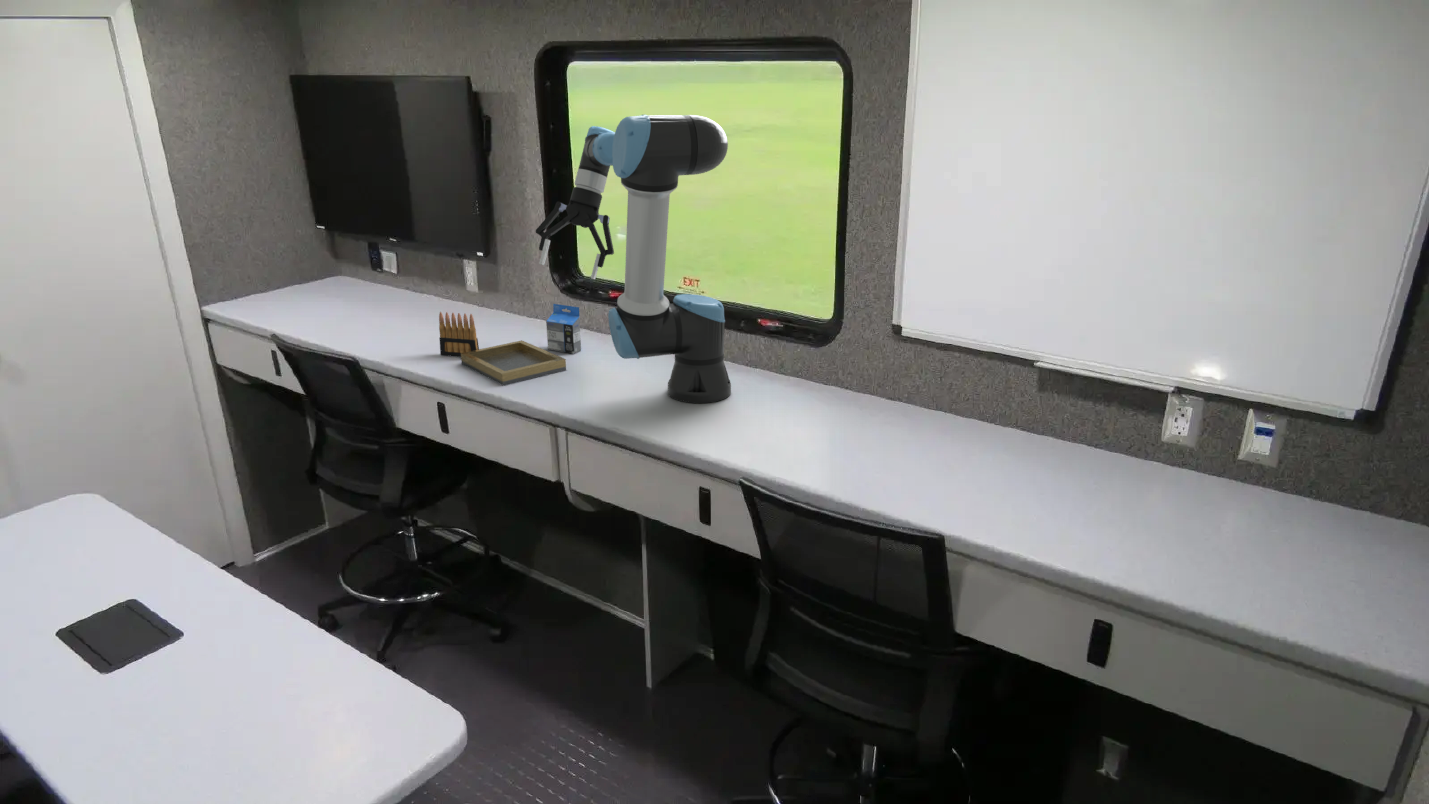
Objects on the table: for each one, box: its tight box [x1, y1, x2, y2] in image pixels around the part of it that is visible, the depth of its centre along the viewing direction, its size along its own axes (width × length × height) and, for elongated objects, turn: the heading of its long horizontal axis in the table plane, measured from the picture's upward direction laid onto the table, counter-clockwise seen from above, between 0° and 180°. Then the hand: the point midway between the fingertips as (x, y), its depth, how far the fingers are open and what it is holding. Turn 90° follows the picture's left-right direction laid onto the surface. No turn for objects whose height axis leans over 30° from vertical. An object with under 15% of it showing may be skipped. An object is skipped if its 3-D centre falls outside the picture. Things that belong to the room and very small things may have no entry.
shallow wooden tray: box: [460, 340, 567, 386], centre depth 220 cm, size 22×18×3 cm
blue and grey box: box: [546, 303, 582, 355], centre depth 233 cm, size 9×4×12 cm, turn 64°
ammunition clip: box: [438, 311, 480, 358], centre depth 228 cm, size 11×2×12 cm, turn 78°
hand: (567, 271), depth 218 cm, fingers open, 13 cm apart
